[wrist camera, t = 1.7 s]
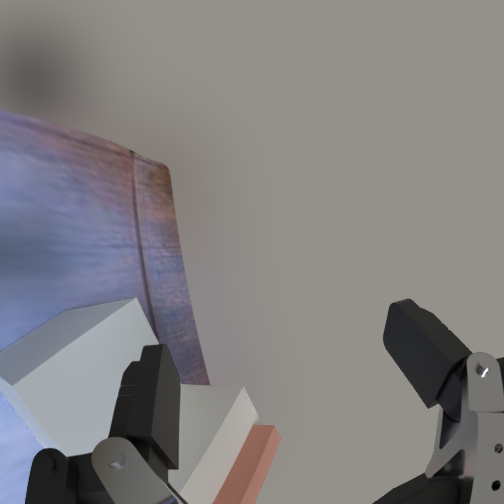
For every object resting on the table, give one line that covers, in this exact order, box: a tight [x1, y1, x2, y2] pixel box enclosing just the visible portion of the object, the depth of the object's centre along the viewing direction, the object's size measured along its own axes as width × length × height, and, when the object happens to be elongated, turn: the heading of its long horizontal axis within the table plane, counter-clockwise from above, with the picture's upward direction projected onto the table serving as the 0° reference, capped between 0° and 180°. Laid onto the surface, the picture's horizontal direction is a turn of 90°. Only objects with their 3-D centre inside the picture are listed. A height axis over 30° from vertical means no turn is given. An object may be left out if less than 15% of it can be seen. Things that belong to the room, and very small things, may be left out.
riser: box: [0, 297, 263, 504], centre depth 29 cm, size 20×28×32 cm
